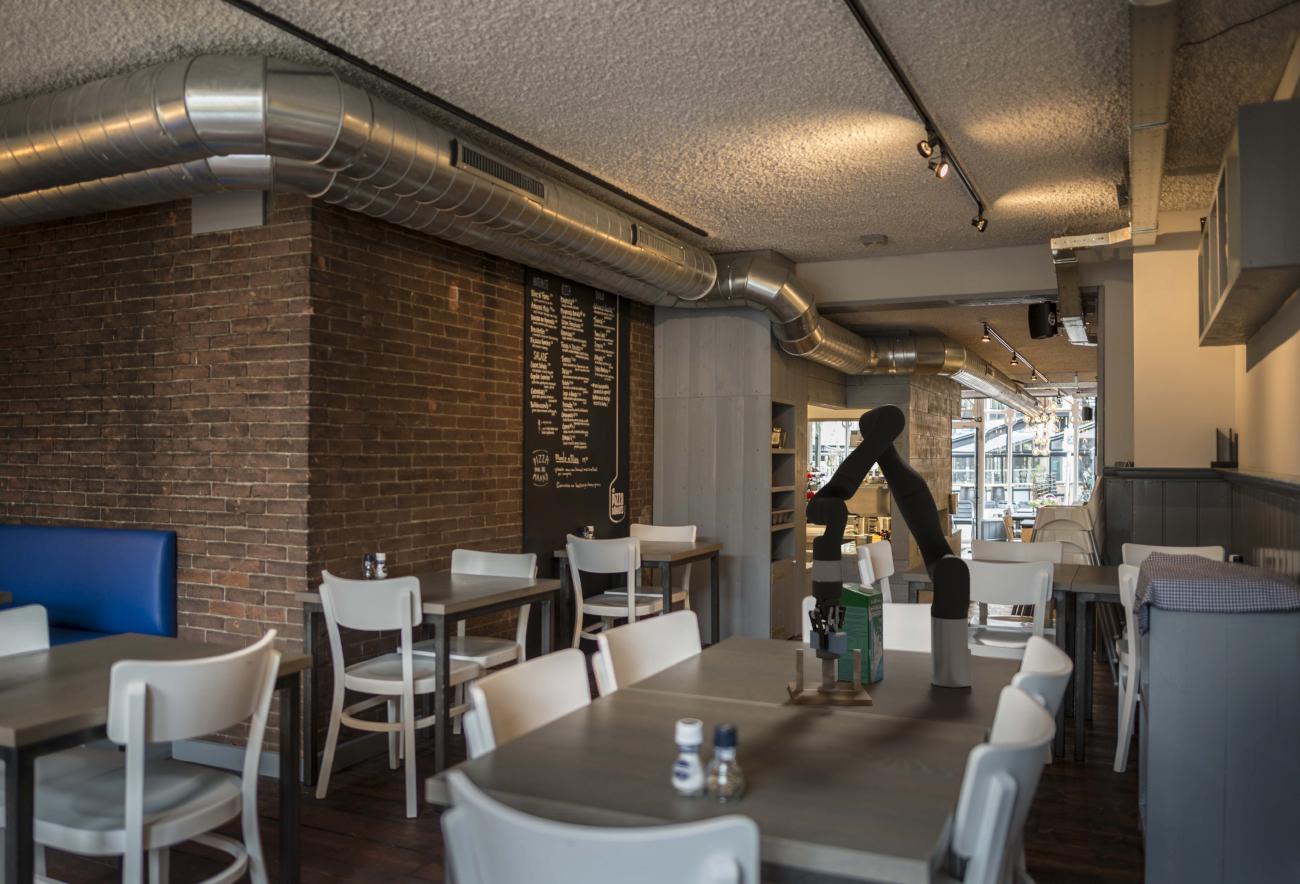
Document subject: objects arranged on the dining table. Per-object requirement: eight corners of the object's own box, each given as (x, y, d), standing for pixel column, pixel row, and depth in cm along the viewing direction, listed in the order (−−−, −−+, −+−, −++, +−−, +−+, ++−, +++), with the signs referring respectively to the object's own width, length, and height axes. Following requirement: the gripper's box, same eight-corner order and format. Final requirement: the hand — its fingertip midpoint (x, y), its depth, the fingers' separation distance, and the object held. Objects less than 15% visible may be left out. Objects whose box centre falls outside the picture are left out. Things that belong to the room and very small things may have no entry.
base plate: (859, 687, 237) (859, 643, 238) (872, 704, 219) (871, 656, 220) (788, 686, 238) (787, 642, 239) (795, 704, 220) (794, 656, 221)
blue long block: (822, 652, 235) (821, 626, 235) (851, 658, 227) (851, 632, 227) (804, 655, 232) (804, 629, 232) (834, 661, 223) (834, 634, 224)
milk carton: (869, 684, 241) (868, 587, 242) (837, 679, 246) (836, 584, 247) (883, 678, 248) (882, 583, 249) (852, 673, 254) (851, 581, 254)
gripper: (830, 574, 238) (830, 643, 237) (798, 579, 228) (798, 650, 227) (855, 577, 232) (856, 646, 232) (824, 581, 222) (825, 654, 222)
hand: (827, 648), depth 229 cm, fingers closed on blue long block, 3 cm apart
